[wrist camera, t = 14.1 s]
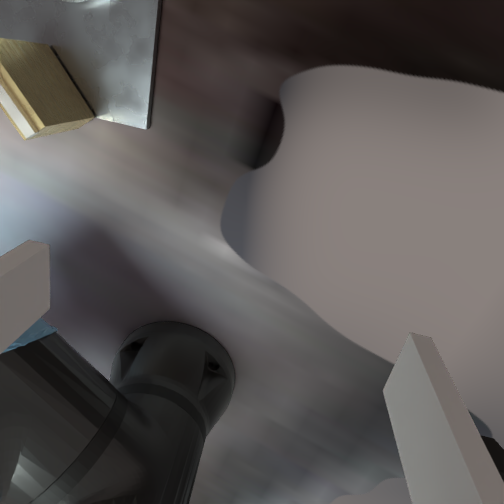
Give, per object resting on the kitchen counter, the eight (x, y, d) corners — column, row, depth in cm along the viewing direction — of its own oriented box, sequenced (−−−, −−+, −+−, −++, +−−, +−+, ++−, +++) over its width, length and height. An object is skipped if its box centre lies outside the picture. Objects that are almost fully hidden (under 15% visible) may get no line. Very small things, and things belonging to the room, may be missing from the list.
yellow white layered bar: (95, 118, 37) (40, 128, 29) (78, 129, 38) (19, 142, 30) (47, 43, 35) (-27, 32, 27) (29, 56, 36) (-47, 50, 28)
